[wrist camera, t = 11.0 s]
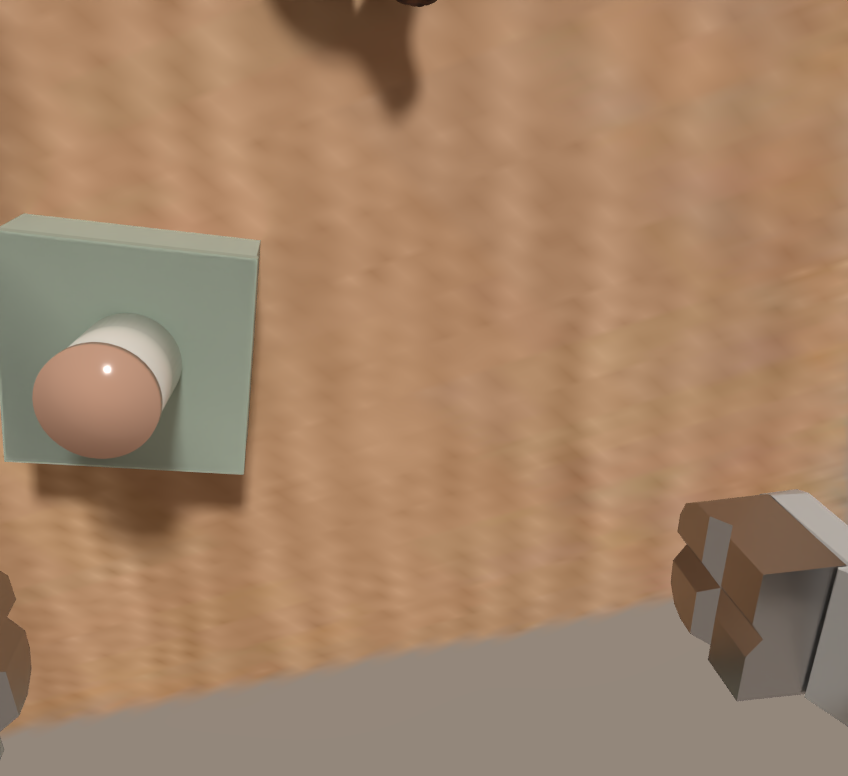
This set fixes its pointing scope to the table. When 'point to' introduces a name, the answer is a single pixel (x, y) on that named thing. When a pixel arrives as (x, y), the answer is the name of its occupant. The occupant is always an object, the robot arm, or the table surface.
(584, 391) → the table surface
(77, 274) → the sage box
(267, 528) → the table surface
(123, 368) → the pink capped tube
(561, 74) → the table surface
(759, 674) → the robot arm
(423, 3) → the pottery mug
